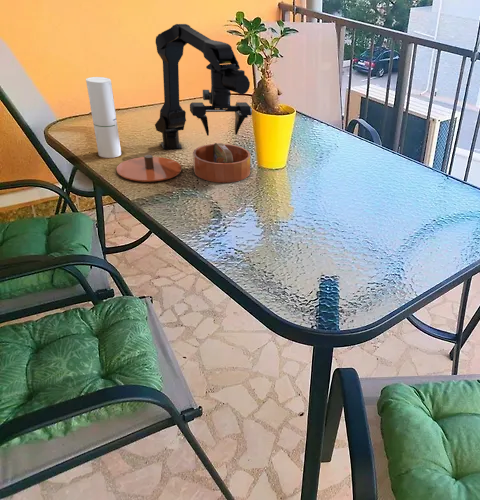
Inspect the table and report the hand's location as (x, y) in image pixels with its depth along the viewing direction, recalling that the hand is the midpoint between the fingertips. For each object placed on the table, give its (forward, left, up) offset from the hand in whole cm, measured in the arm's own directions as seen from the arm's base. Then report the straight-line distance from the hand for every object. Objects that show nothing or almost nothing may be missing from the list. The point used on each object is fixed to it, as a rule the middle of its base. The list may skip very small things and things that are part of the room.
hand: (221, 134), depth 154 cm
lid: (-4, -23, -12) cm, 26 cm away
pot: (0, 0, -13) cm, 13 cm away
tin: (0, 0, -13) cm, 13 cm away
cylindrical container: (-21, -34, -13) cm, 42 cm away
